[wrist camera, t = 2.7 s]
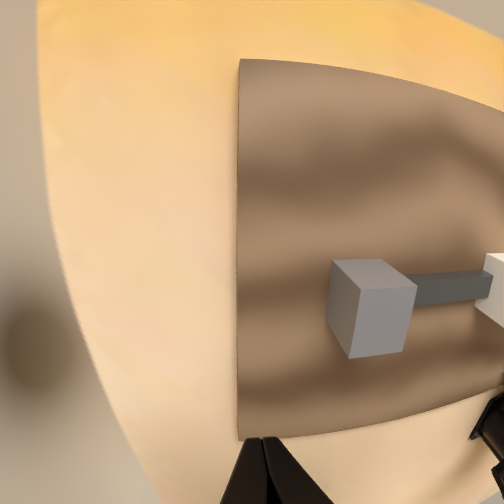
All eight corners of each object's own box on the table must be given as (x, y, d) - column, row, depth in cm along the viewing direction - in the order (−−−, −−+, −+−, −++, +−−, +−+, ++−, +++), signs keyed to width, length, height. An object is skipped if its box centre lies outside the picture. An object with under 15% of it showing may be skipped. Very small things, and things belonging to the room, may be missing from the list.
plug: (524, 297, 20) (554, 316, 16) (324, 322, 18) (347, 362, 14) (535, 252, 19) (568, 268, 15) (332, 256, 17) (361, 285, 13)
